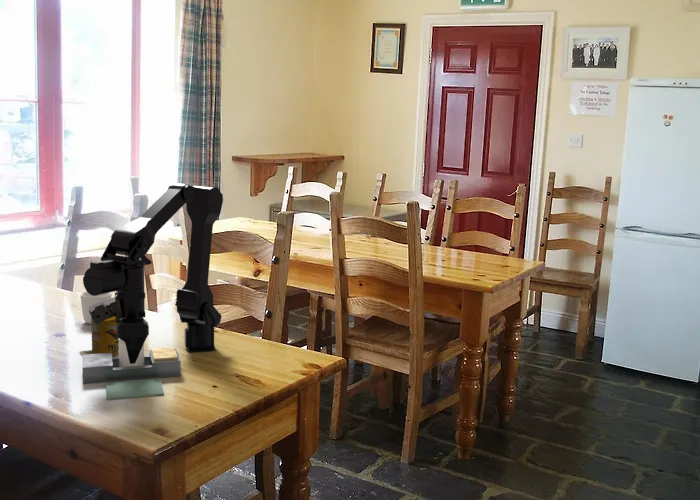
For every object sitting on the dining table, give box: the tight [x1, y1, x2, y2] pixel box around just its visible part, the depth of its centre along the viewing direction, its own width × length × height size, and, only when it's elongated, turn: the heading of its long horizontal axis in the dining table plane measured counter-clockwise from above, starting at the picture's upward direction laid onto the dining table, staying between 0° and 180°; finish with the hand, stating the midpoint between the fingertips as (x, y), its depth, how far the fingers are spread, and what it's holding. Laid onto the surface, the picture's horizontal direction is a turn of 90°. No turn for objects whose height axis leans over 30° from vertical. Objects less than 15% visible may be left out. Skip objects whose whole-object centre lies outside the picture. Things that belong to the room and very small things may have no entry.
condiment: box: [78, 316, 119, 357], centre depth 170 cm, size 7×8×12 cm
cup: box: [79, 291, 112, 325], centre depth 196 cm, size 11×8×8 cm
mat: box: [105, 378, 165, 401], centre depth 149 cm, size 11×9×1 cm
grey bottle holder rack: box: [81, 347, 182, 385], centre depth 159 cm, size 20×9×4 cm, turn 109°
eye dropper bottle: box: [119, 339, 145, 367], centre depth 158 cm, size 4×6×12 cm
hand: (131, 357), depth 158 cm, fingers closed on eye dropper bottle, 8 cm apart
